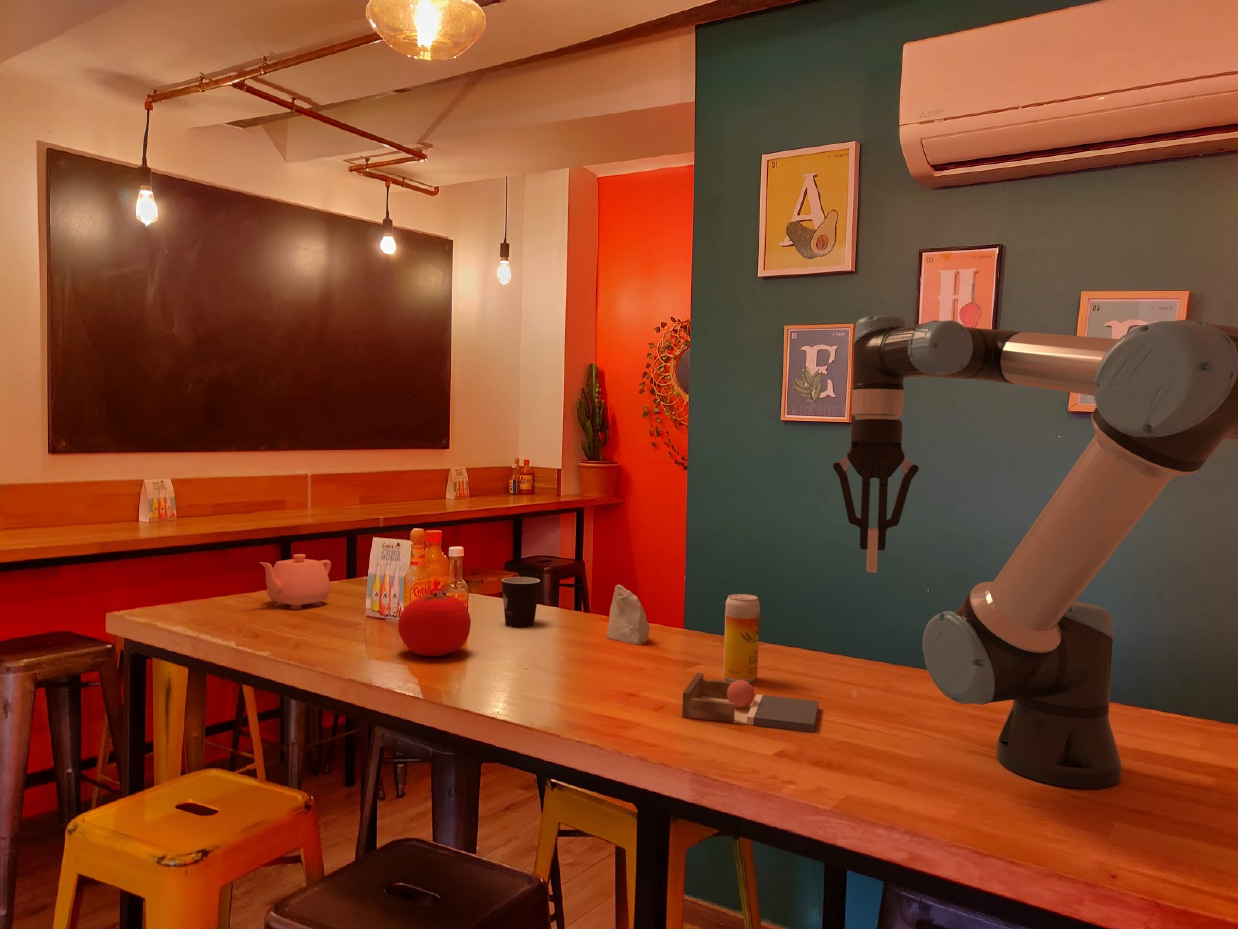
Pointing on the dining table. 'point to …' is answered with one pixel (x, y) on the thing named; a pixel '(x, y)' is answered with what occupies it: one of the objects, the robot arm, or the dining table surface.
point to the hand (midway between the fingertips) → (871, 571)
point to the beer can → (741, 637)
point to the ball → (740, 693)
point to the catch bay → (705, 707)
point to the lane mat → (777, 712)
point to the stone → (627, 618)
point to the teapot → (298, 581)
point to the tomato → (434, 625)
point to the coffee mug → (520, 601)
